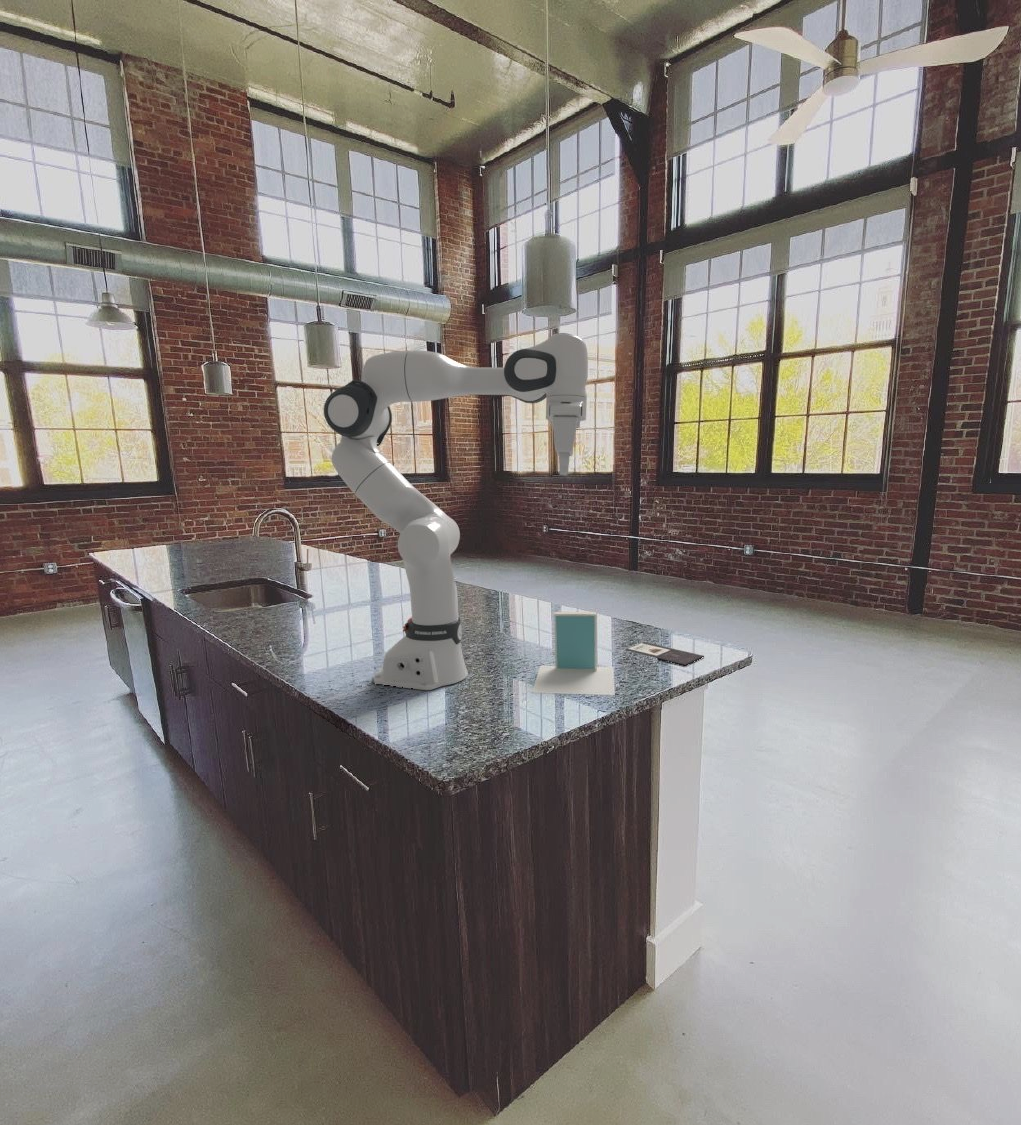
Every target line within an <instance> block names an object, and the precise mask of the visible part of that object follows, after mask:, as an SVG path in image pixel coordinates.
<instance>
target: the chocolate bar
mask: <svg viewBox="0 0 1021 1125" xmlns="http://www.w3.org/2000/svg"><path fill="white" fill-rule="evenodd" d="M625 651H628V652H632V653H636V654H640V655H644V656H648V657H652V658H656V659H659V660H658V661H660V660H662V661H661V662H664V661H669V662H672V663H675V664H674V665H676V664H679V665H678V666H680V665H683V666H682V667H684V666H686V667H687V665H688V664H690V663H692V662H694V661H696V662H698V661H700V660H699V659H701V658H702V657H704V658H705V655H703V654H698V653H695V652H694V653H693V652H690V651H684V650H680V649H677V648H676V649H675V648H672V647H666V646H662V645H658V644H653V643H651V642H650V643H649V642H641V643H638V644H636V645H634V646H631V647H628V648H626V649H625ZM697 660H698V661H697ZM701 660H702V659H701ZM672 663H671V664H672ZM694 663H695V662H694ZM692 664H693V663H692ZM690 665H691V664H690ZM688 666H689V665H688Z"/></svg>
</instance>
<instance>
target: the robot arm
mask: <svg viewBox="0 0 1021 1125" xmlns="http://www.w3.org/2000/svg"><path fill="white" fill-rule="evenodd" d="M587 347H588V346H587V345H586V342H585V341H584V340H583V339H582V338H581V337H579V336H577V335H575V334H572V333H567V332H560V333H559V332H557V333H554V334H551V336H550V337H549V338H547V339H545V341H542V342H540V343H538V344H536V345H533V346H530V347H527V348H523V349H522V348H521V349H517V350H516V351H514V352H513V353H511V354H510V355H509V357H508V358H507V359H506V361H505V363H504V366H503V367H490V366H489V367H485V366H483V367H481V366H480V367H479V366H468V365H466V364H462V363H460V362H459V361H458V362H457V361H455V360H454V359H452V358H450V357H449V356H447V355H444V354H442V353H440V352H436V351H431V350H430V351H429V350H420V349H417V350H416V349H415V350H412V349H410V350H397V351H390V352H384V353H379V354H375V355H372V356H370V357H369V358H367V360H366V361H365V362H364V364H363V368H362V374H361V376H362V378H361V380H359V379H353V380H351V381H350V382H348V383H347V384H345V385H343V386H341V387H339V388H337V389H336V390H334V391H333V392H332V393H330V394H329V396H328V397H327V398H326V400H325V402H324V405H323V416H324V419H325V421H326V423H327V424H328V426H329V427H330V429H331V430H333V431H334V432H335V433H337V434H339V436H341V438H340V441H339V442H338V443H337V445H336V446H335V447H334V449H333V451H332V454H331V463H332V466H333V468H334V470H336V472H337V474H338V476H340V478H341V479H342V480H343V482H344V483H345V485H346V486H347V487H348V488H349V489H350V490H351V492H352V493H353V494H354V496H356V497H357V498H358V499H359V500H360V501H361V502H362V503H363V504H364V505H365V506H366V508H368V509H369V510H370V512H371V513H372V514H373V515H374V516H375V517H376V518H377V519H378V520H380V522H383V523H385V524H387V525H388V526H390V527H391V528H393V530H395V531H397V532H398V533H399V536H398V538H397V549H398V550H397V551H398V553H399V555H400V557H401V558H402V561H403V567H404V569H405V575H406V577H407V578H406V579H407V581H408V586H409V593H410V607H411V608H410V609H411V617H410V618H408V620H407V622H405V624H404V626H402V629H403V630H402V632H403V633H405V636H403V637H402V638H401V639H399V640H398V641H397V642H396V643H395V644H394V645H393V646H391V648H389V649H388V650H387V651H386V652H385V655H384V657H383V661H382V667H381V668H380V669H378V670H377V672H376V673H375V674H374V676H373V683H374V682H375V683H376V684H385V685H390V686H389V687H393V686H396V687H395V688H402V687H403V688H402V689H411V688H413V689H414V690H420V691H421V690H423V691H432V690H435V689H437V688H439V687H440V688H441V687H444V686H449V685H453V684H457V683H459V682H461V681H463V680H465V679H466V678H467V677H468V675H469V672H468V670H467V666H466V663H465V660H464V655H463V650H462V644H461V642H462V635H463V634H462V631H463V630H462V624H461V617H460V616H459V601H458V597H459V596H458V587H457V583H456V580H455V577H454V576H455V575H454V573H453V568H452V562H451V555H452V554H453V553H454V552H455V551H456V550H457V548H458V547H459V546H458V545H459V542H460V540H461V539H460V538H461V533H460V528H459V526H458V524H457V522H456V521H455V520H454V519H453V518H452V517H450V516H449V515H447V514H446V513H445V512H444V511H443V510H442V509H441V508H439V506H437V505H436V503H434V502H433V501H431V500H430V499H429V498H428V497H426V495H424V494H423V493H421V492H420V491H419V490H418V489H417V488H416V487H415V486H413V484H411V483H410V481H409V480H407V479H406V477H404V475H403V474H402V473H401V472H400V471H399V469H397V468H396V467H395V466H394V465H393V464H392V463H391V462H390V460H389V459H388V458H386V456H384V454H383V453H382V452H381V451H380V450H379V448H378V446H381V445H382V442H383V440H384V438H385V436H386V434H387V433H388V432H389V431H390V428H391V426H392V422H393V414H392V410H391V407H390V406H391V405H393V404H395V403H396V404H397V403H402V402H403V403H406V402H407V403H421V402H429V401H437V400H443V399H449V398H457V397H463V396H506V397H511V398H514V399H516V400H518V401H521V402H523V403H526V404H538V403H540V402H542V401H544V400H545V399H546V400H545V403H546V404H545V420H546V421H550V422H551V428H552V430H553V443H554V444H553V445H554V449H555V452H556V454H557V456H558V464H559V466H558V468H559V469H558V470H559V472H558V473H559V475H560V476H562V477H563V476H564V477H565V476H566V477H567V476H568V475H569V468H570V466H569V465H570V457H572V456H573V454H574V446H575V445H574V444H575V439H576V432H577V429H579V428H580V427H581V424H580V423H581V422H583V421H586V419H587V405H588V404H587V398H588V396H587V391H586V384H587V382H588V376H589V358H588V348H587ZM376 684H375V685H376Z"/></svg>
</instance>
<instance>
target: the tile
mask: <svg viewBox="0 0 1021 1125" xmlns="http://www.w3.org/2000/svg"><path fill="white" fill-rule="evenodd" d="M553 617H554V618H553V619H554V621H553V622H554V661H555V662H554V666H555V670H580V671H597V667H598V642H597V641H598V640H597V639H598V637H597V636H598V635H597V633H598V632H597V630H598V628H597V624H598V623H597V621H598V620H597V611H593V612H592V611H589V612H588V611H584V612H583V611H554V613H553Z"/></svg>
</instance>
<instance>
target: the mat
mask: <svg viewBox="0 0 1021 1125" xmlns="http://www.w3.org/2000/svg"><path fill="white" fill-rule="evenodd" d="M614 668H615V667H614V666H597V671H580V670H555V665H539V669H538V673H537V675H536V678H535V681H534V685H533V688H532V691H531V693H532V694H555V695H557V694H558V695H559V694H561V695H588V696H589V695H591V696H592V695H596V696H597V695H598V696H599V695H600V696H616V695H615V694H616V691H615V689H616V688H615V671H614V670H615V669H614Z"/></svg>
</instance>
